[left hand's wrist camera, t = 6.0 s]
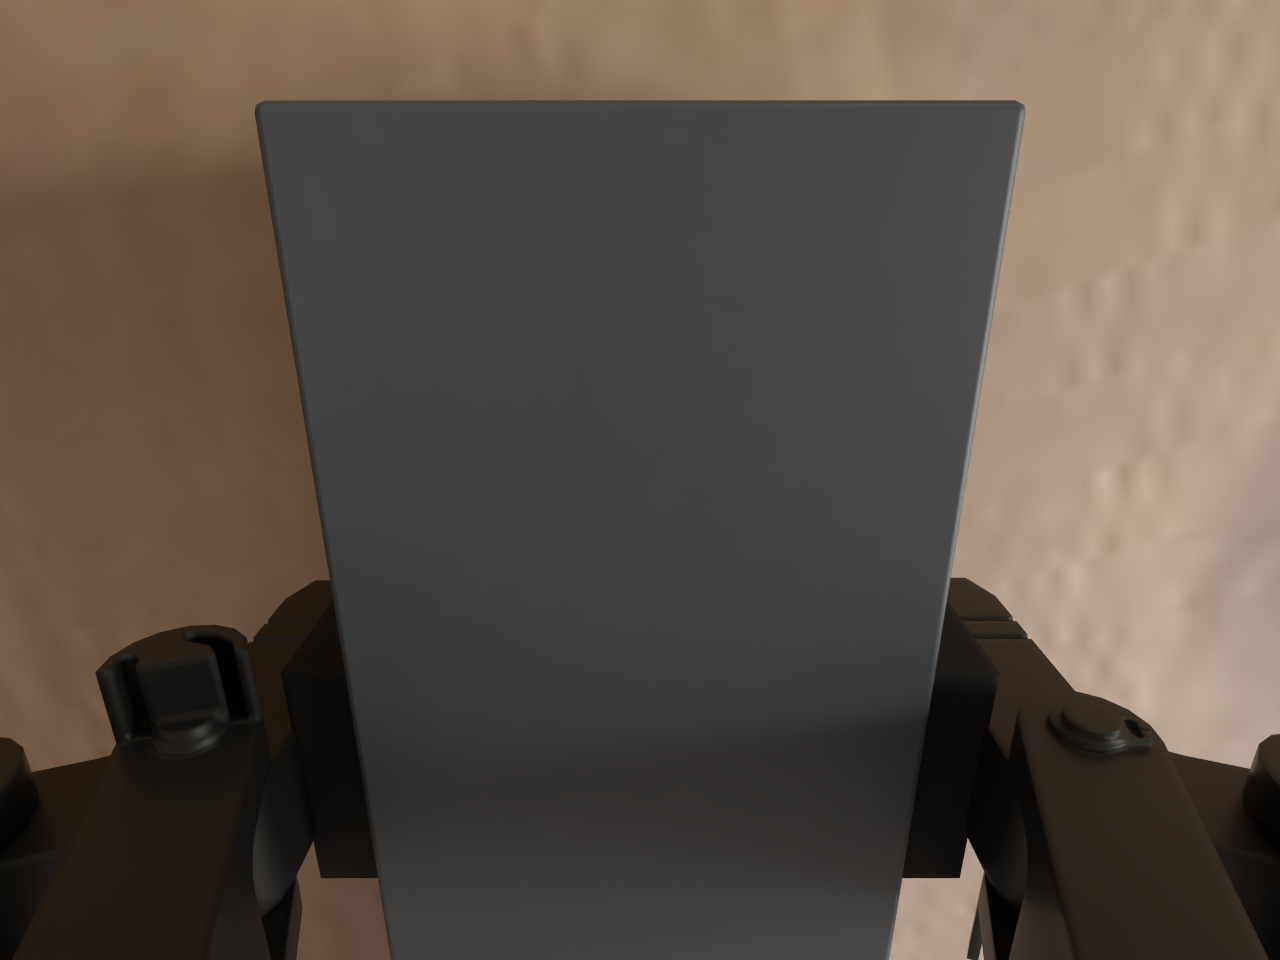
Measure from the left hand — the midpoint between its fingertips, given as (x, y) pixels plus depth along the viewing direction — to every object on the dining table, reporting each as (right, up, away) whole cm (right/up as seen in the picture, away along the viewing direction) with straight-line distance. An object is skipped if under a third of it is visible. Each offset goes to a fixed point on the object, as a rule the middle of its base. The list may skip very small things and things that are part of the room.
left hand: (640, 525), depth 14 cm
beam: (0, -21, +9) cm, 23 cm away
